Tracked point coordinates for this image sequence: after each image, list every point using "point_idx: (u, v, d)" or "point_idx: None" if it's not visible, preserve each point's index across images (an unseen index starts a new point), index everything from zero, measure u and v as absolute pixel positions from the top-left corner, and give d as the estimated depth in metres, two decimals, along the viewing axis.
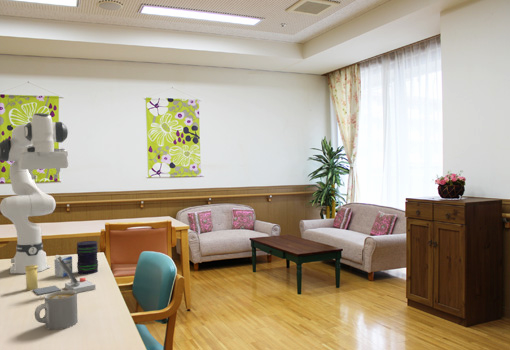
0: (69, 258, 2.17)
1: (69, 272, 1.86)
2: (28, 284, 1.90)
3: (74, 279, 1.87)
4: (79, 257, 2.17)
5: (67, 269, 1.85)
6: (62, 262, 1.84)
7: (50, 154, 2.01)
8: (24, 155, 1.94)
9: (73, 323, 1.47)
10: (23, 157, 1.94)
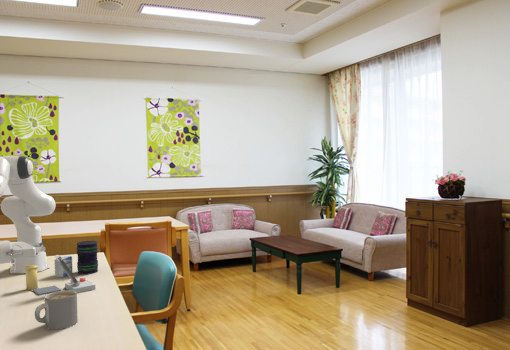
0: (69, 258, 2.17)
1: (69, 272, 1.86)
2: (28, 284, 1.90)
3: (74, 279, 1.87)
4: (79, 257, 2.17)
5: (67, 269, 1.85)
6: (62, 262, 1.84)
7: None
8: None
9: (73, 323, 1.47)
10: None
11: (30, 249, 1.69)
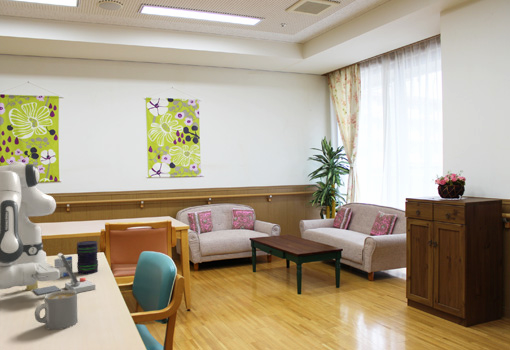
0: (69, 258, 2.17)
1: (70, 271, 1.86)
2: None
3: (74, 279, 1.87)
4: (79, 257, 2.17)
5: (68, 268, 1.85)
6: (64, 261, 1.84)
7: (38, 279, 1.78)
8: None
9: (73, 323, 1.47)
10: None
11: (54, 272, 1.74)
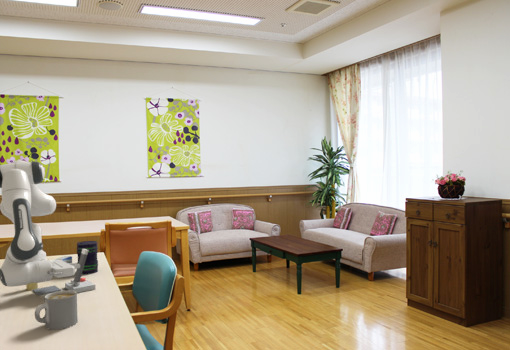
0: (69, 258, 2.17)
1: (81, 269, 1.89)
2: (28, 284, 1.90)
3: (79, 278, 1.88)
4: (79, 257, 2.17)
5: (82, 265, 1.89)
6: (85, 256, 1.90)
7: (53, 275, 1.81)
8: None
9: (73, 323, 1.47)
10: None
11: (70, 268, 1.78)
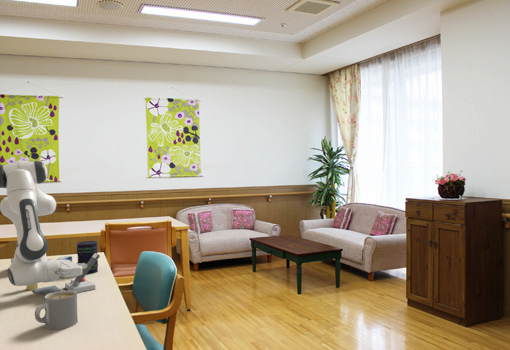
0: (69, 258, 2.17)
1: (87, 271, 1.90)
2: None
3: (81, 278, 1.89)
4: (79, 257, 2.17)
5: (89, 267, 1.91)
6: (94, 260, 1.93)
7: (61, 275, 1.83)
8: None
9: (73, 323, 1.47)
10: None
11: (77, 268, 1.80)
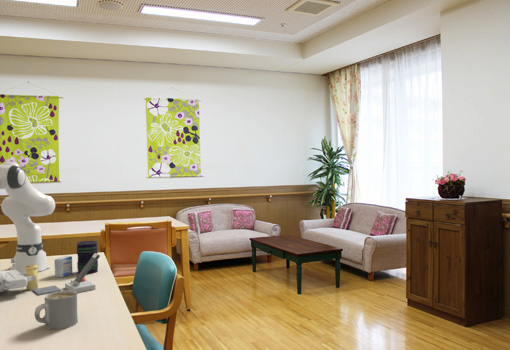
0: (69, 258, 2.17)
1: (87, 271, 1.90)
2: (28, 284, 1.90)
3: (81, 278, 1.89)
4: (79, 257, 2.17)
5: (89, 267, 1.91)
6: (94, 260, 1.93)
7: (6, 286, 1.84)
8: None
9: (73, 323, 1.47)
10: None
11: (22, 280, 1.80)
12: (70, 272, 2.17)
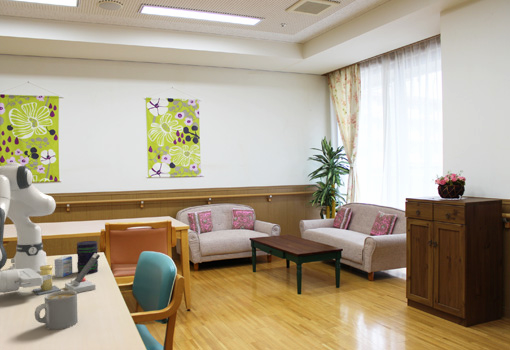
0: (69, 258, 2.17)
1: (87, 271, 1.90)
2: (43, 285, 1.86)
3: (81, 278, 1.89)
4: (79, 257, 2.17)
5: (89, 267, 1.91)
6: (94, 260, 1.93)
7: (21, 285, 1.80)
8: None
9: (73, 323, 1.47)
10: None
11: (37, 278, 1.77)
12: (70, 272, 2.17)
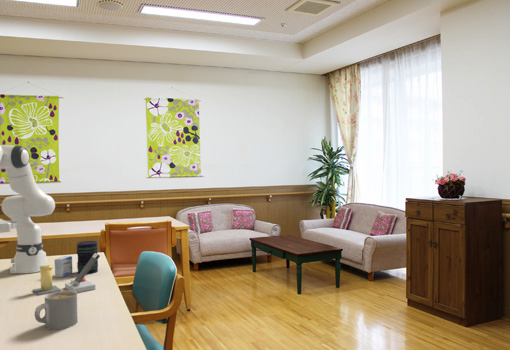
0: (69, 258, 2.17)
1: (87, 271, 1.90)
2: (43, 284, 1.86)
3: (81, 278, 1.89)
4: (79, 257, 2.17)
5: (89, 267, 1.91)
6: (94, 260, 1.93)
7: None
8: None
9: (73, 323, 1.47)
10: None
11: (5, 224, 1.69)
12: (70, 272, 2.17)
